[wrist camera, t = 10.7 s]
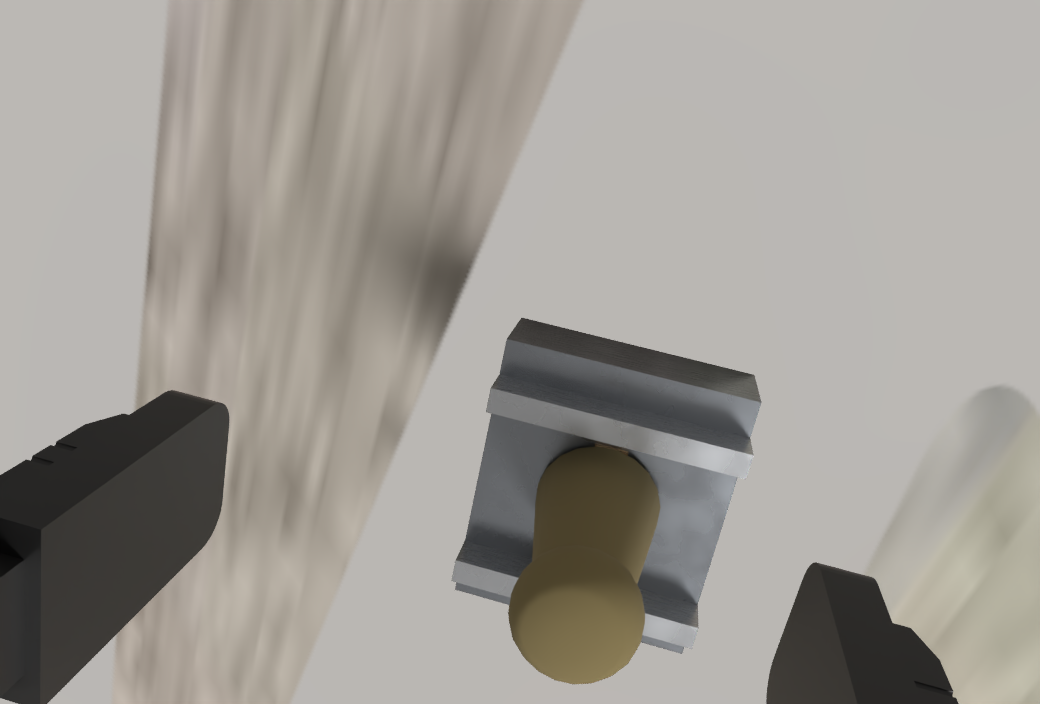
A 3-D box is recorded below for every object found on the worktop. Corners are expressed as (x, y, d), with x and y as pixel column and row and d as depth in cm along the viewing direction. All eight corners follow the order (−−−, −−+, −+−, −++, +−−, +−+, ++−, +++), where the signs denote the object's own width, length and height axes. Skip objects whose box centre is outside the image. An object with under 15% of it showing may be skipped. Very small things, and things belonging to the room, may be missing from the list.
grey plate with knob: (521, 317, 44) (498, 351, 39) (754, 375, 43) (765, 418, 37) (472, 550, 49) (445, 611, 43) (681, 608, 47) (681, 679, 42)
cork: (558, 571, 43) (521, 723, 33) (518, 463, 42) (466, 587, 32) (676, 544, 42) (675, 695, 31) (638, 432, 40) (625, 551, 30)
